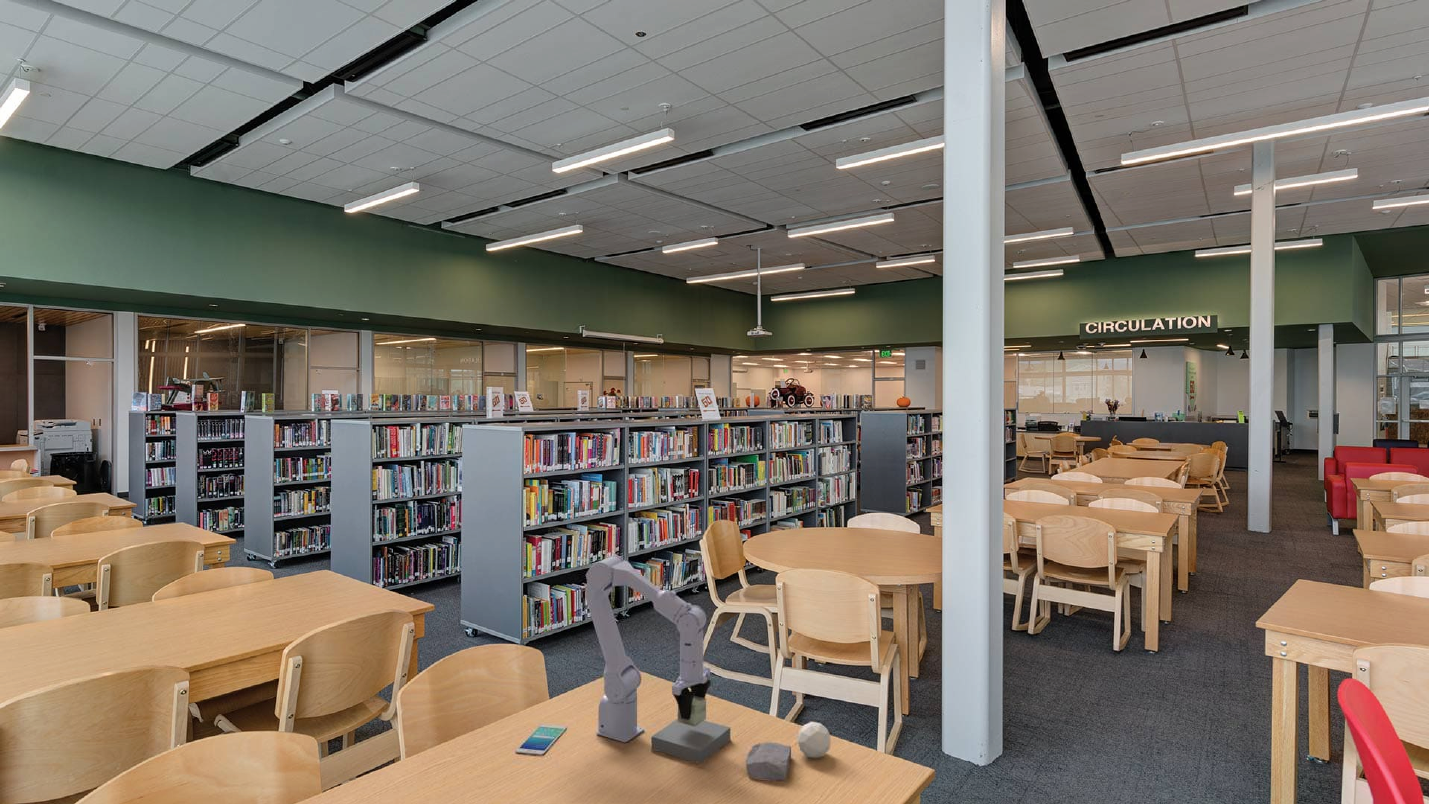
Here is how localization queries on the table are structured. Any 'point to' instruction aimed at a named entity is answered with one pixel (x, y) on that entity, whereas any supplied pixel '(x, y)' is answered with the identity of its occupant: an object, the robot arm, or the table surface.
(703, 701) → the sage green cube
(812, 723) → the geometric ball
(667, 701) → the table surface
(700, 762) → the stacking base
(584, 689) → the table surface
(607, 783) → the table surface
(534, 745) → the smartphone
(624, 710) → the robot arm
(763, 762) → the stone block
